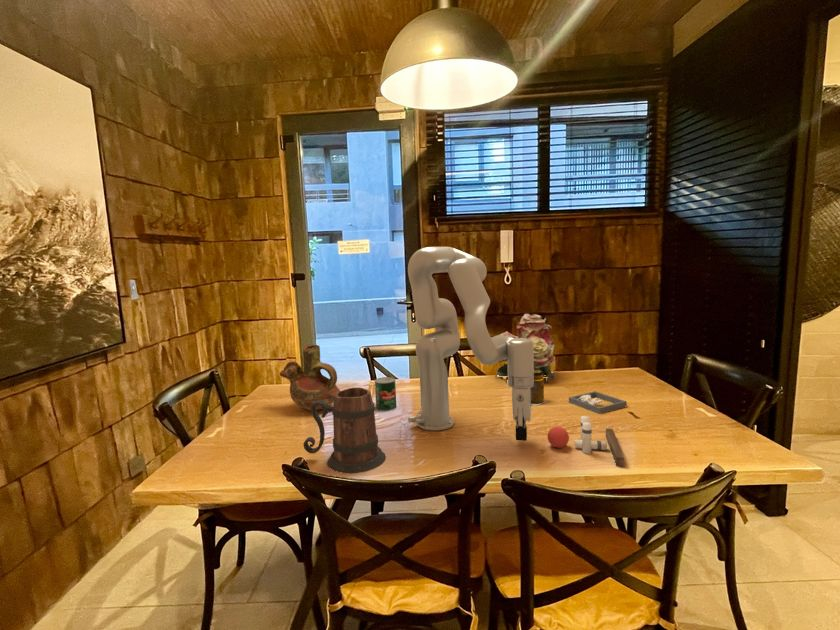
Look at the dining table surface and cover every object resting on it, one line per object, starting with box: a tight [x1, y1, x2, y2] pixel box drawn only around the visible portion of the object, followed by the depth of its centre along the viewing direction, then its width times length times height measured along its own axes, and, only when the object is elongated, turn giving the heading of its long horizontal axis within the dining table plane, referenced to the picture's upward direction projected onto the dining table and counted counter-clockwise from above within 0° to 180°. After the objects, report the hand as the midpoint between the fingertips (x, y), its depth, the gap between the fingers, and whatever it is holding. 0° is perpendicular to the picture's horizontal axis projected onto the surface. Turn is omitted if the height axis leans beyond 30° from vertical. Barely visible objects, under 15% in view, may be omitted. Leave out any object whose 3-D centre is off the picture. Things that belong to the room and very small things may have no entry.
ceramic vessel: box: [279, 344, 341, 412], centre depth 174 cm, size 17×26×25 cm, turn 76°
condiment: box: [530, 370, 549, 407], centre depth 172 cm, size 7×8×12 cm
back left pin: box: [580, 415, 591, 440], centre depth 133 cm, size 2×2×8 cm
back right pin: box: [581, 422, 593, 455], centre depth 128 cm, size 2×2×8 cm
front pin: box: [574, 439, 608, 451], centre depth 130 cm, size 2×2×8 cm
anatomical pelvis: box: [578, 395, 603, 406], centre depth 167 cm, size 8×4×7 cm
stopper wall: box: [605, 428, 626, 467], centre depth 129 cm, size 2×20×2 cm, turn 165°
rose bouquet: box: [495, 313, 557, 384], centre depth 201 cm, size 26×29×30 cm
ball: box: [547, 426, 570, 449], centre depth 132 cm, size 6×6×6 cm
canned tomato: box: [374, 376, 397, 412], centre depth 172 cm, size 8×8×11 cm
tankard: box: [303, 386, 387, 474], centre depth 129 cm, size 24×17×20 cm
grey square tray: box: [568, 390, 628, 415], centre depth 167 cm, size 14×15×2 cm
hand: (521, 439), depth 136 cm, fingers closed
